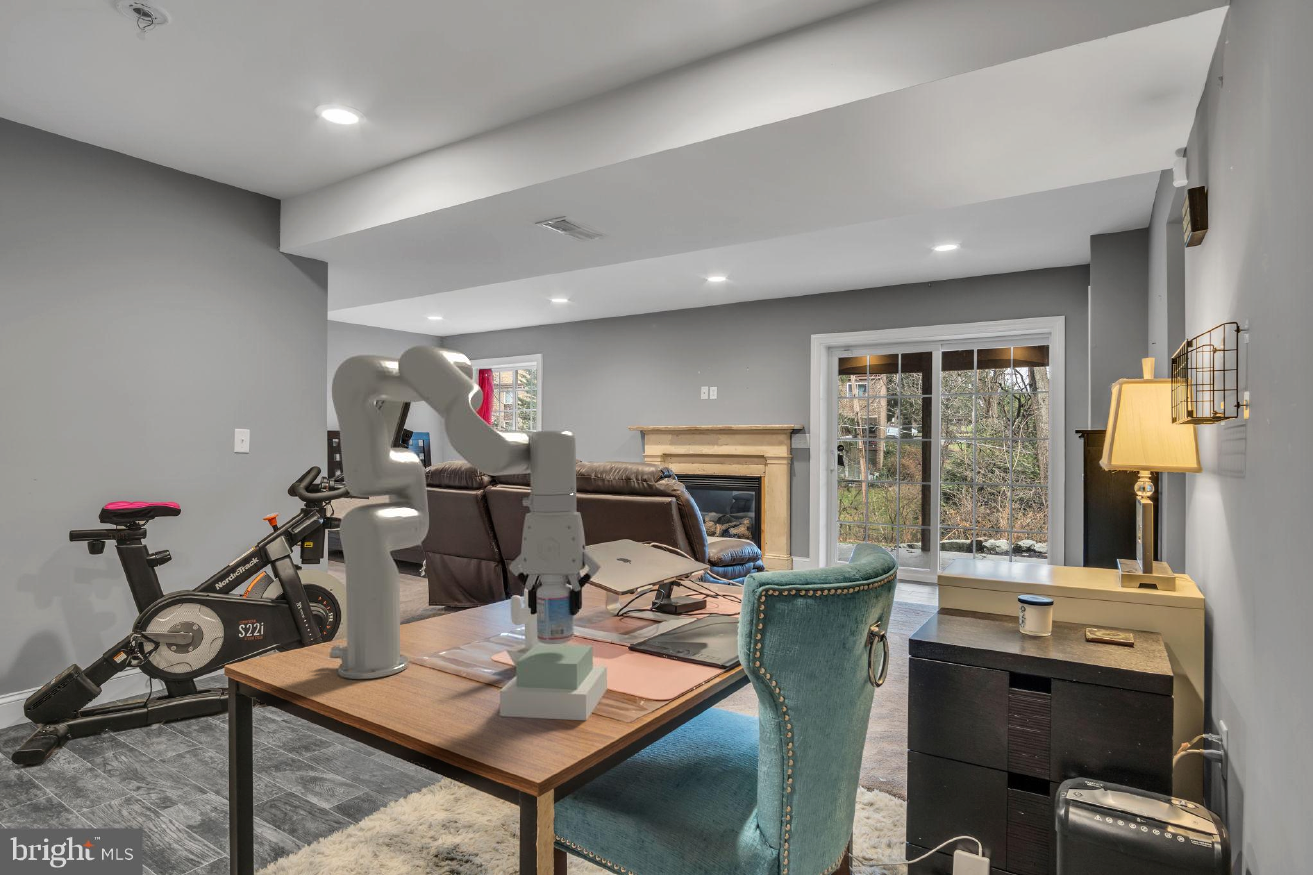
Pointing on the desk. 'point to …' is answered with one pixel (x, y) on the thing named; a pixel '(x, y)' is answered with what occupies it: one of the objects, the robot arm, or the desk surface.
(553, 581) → the pill bottle
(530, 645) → the figurine
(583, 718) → the base block
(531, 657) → the top block
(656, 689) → the desk surface
